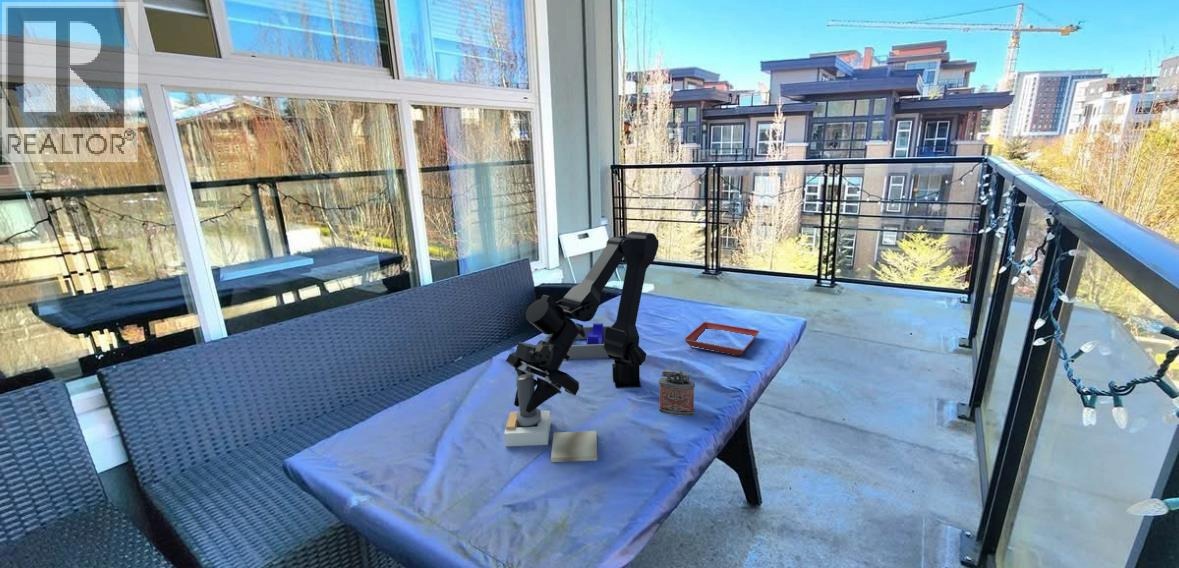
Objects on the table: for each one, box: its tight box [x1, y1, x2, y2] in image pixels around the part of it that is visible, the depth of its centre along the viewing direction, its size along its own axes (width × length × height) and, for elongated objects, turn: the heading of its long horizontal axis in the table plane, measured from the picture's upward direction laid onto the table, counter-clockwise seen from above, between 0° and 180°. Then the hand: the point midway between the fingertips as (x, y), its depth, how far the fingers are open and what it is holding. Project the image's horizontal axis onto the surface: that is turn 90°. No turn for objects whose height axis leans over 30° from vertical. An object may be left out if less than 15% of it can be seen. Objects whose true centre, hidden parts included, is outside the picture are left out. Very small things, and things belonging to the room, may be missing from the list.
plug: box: [515, 374, 542, 427], centre depth 105 cm, size 5×5×13 cm
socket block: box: [503, 410, 552, 447], centre depth 106 cm, size 9×9×4 cm
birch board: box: [550, 430, 598, 463], centre depth 101 cm, size 9×9×1 cm
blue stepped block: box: [586, 322, 604, 345], centre depth 153 cm, size 12×4×6 cm, turn 171°
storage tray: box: [567, 324, 613, 360], centre depth 153 cm, size 17×17×4 cm
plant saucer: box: [684, 321, 760, 356], centre depth 152 cm, size 18×18×3 cm
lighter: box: [658, 369, 696, 417], centre depth 112 cm, size 8×3×10 cm, turn 71°
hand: (521, 408), depth 104 cm, fingers closed on plug, 4 cm apart
